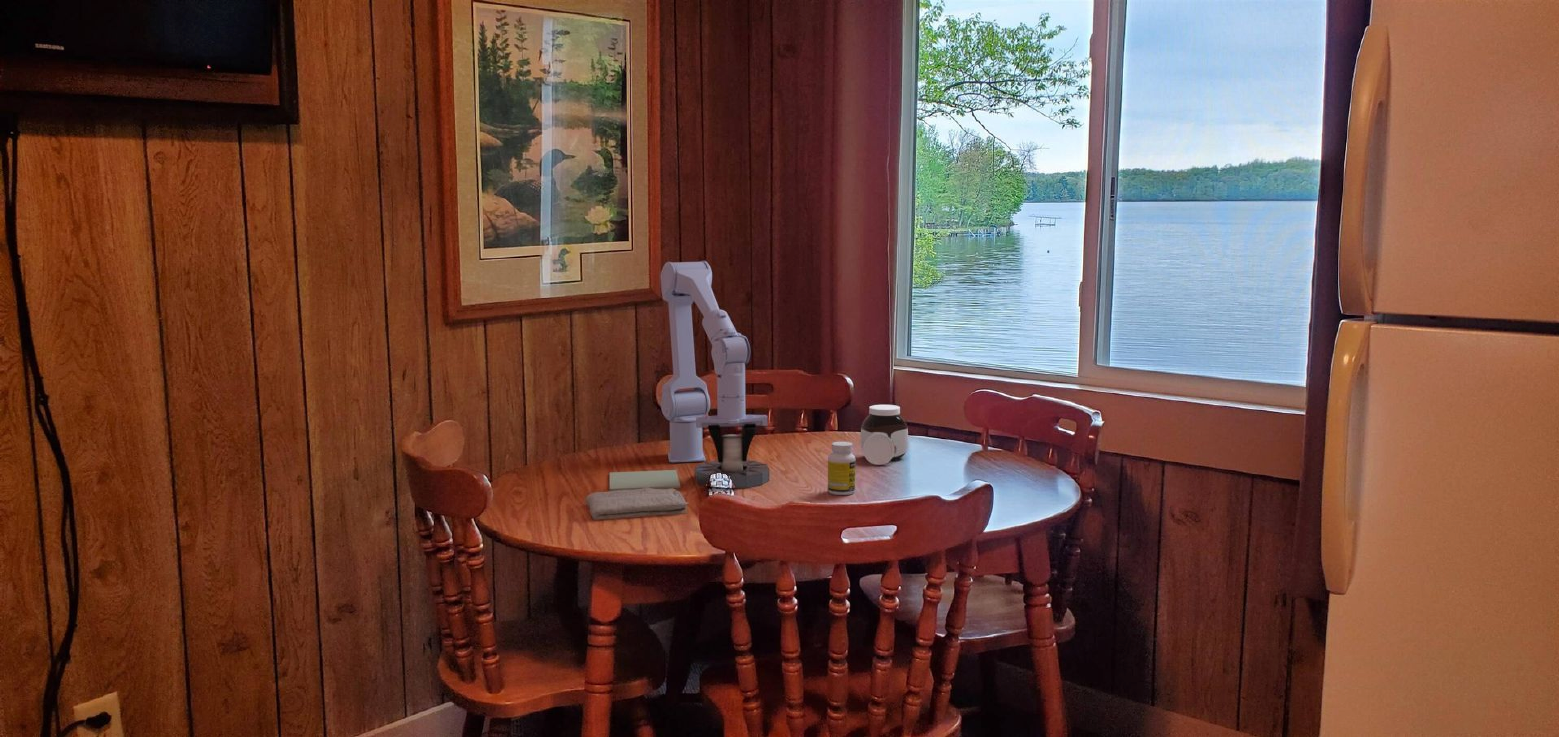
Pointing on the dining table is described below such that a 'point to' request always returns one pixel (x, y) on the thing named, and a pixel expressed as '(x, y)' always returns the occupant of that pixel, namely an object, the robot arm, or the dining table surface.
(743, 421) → the robot arm
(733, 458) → the peg
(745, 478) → the iron collar
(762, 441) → the dining table surface
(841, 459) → the supplement bottle
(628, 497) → the washcloth
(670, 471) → the pad
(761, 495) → the dining table surface
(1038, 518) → the dining table surface
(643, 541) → the dining table surface
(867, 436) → the spread jar
